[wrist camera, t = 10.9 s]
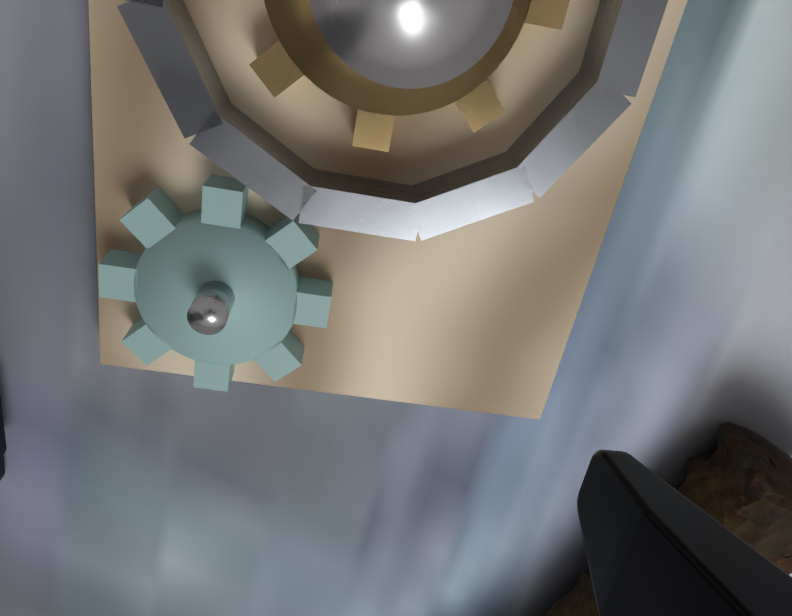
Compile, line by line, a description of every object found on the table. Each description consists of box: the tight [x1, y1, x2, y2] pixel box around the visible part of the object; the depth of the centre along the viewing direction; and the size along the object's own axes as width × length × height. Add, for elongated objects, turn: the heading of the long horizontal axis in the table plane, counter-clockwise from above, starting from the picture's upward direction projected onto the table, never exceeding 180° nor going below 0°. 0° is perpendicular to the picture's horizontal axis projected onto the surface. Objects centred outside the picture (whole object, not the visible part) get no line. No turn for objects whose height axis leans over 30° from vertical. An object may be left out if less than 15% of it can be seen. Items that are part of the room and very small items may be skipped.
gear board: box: [88, 0, 688, 419], centre depth 16 cm, size 14×20×3 cm
